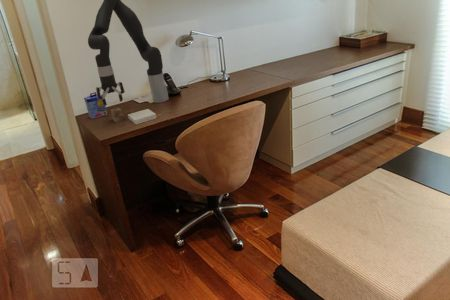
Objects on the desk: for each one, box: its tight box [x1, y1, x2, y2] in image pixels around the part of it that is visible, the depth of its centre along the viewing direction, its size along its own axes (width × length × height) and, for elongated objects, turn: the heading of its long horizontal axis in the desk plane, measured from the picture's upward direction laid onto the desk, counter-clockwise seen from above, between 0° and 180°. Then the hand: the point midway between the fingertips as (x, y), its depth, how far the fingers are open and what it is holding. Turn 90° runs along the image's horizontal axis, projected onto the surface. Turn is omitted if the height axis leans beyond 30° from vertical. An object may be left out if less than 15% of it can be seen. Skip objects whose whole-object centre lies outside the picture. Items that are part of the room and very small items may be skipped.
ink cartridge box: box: [83, 91, 108, 120], centre depth 209 cm, size 10×6×14 cm, turn 127°
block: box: [110, 107, 125, 123], centre depth 201 cm, size 5×5×6 cm
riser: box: [127, 108, 157, 125], centre depth 199 cm, size 12×12×3 cm
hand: (113, 103), depth 198 cm, fingers open, 8 cm apart
